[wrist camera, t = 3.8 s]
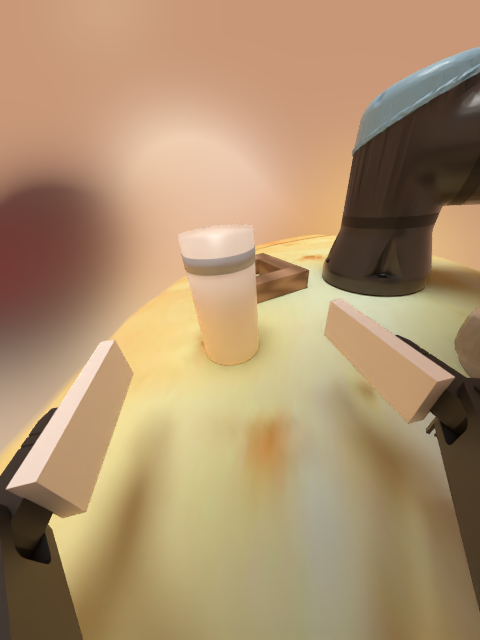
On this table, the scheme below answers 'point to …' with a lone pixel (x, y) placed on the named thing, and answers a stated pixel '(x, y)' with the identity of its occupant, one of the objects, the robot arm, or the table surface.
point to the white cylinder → (223, 289)
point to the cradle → (277, 277)
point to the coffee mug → (470, 344)
